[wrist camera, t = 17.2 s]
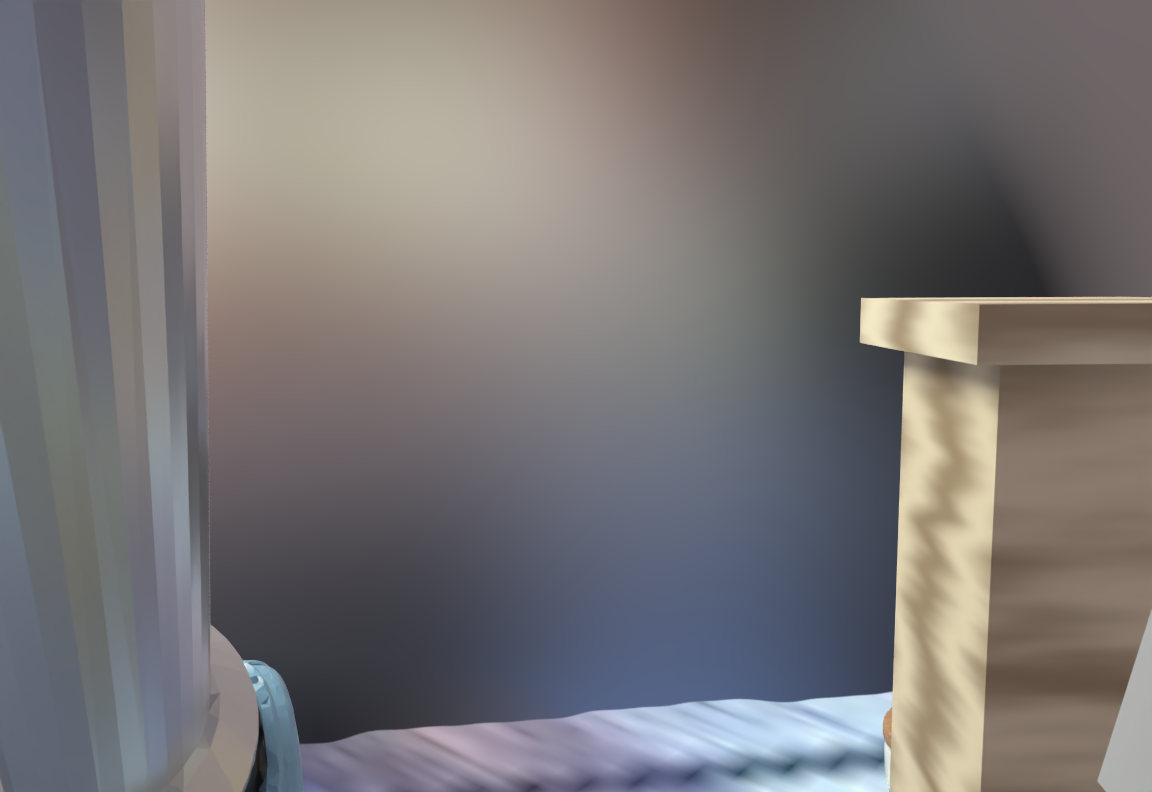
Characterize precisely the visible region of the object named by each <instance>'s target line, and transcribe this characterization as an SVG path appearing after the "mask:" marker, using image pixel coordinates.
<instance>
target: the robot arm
mask: <svg viewBox="0 0 1152 792" xmlns="http://www.w3.org/2000/svg"><path fill="white" fill-rule="evenodd" d="M205 73H206V72H205V0H0V792H303V779H302V765H301V755H300V747H299V741H298V733H297V728H296V723H295V718H294V711H293V707H292V703H291V700H290V697H289V693H288V690H287V688H286V685H285V683H284V682H283V680H282V678H281V676H280V675H279V674H278V672H277V671H275V670H274V669H272V668H271V667H269V666H267V665H266V664H265V663H264V662H261V661H255V660H247V661H244V660H242V659H241V657H240V656H239V654H238V653H237V651H236V650H235V649H234V648H233V646H232V645H231V644H230V642H229V641H228V640H227V639H226V638H225V637H224V636H223V635H222V634H221V633H220V632H218V631H217V630H216V629H215V628H214V627H213V626H211V625H210V558H209V557H210V555H209V554H210V550H209V549H210V547H209V432H208V430H209V429H208V313H207V312H208V309H207V195H206V194H207V190H206V75H205ZM1097 782H1098V783H1099V784H1100V785H1101V786H1102V788H1103V789H1104V790H1105V791H1106V792H1152V610H1151V613H1150V616H1149V619H1148V622H1147V626H1146V629H1145V632H1144V635H1143V638H1142V641H1141V644H1140V648H1139V651H1138V654H1137V657H1136V660H1135V663H1134V667H1133V670H1132V673H1131V676H1130V679H1129V682H1128V686H1127V689H1126V692H1125V695H1124V698H1123V701H1122V705H1121V708H1120V711H1119V714H1118V717H1117V720H1116V724H1115V727H1114V730H1113V733H1112V736H1111V739H1110V742H1109V746H1108V749H1107V752H1106V755H1105V758H1104V761H1103V765H1102V768H1101V771H1100V774H1099V777H1098V780H1097Z"/></svg>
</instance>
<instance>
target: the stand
mask: <svg viewBox="0 0 1152 792" xmlns="http://www.w3.org/2000/svg"><path fill="white" fill-rule="evenodd" d="M860 343H865V344H870V345H875V346H880V347H886V348H891V349H896V350H901V351H905V357H904V387H903V413H902V416H903V417H902V442H901V473H900V500H899V530H898V558H897V587H896V617H895V619H896V620H895V646H894V674H893V676H894V677H893V702H892V731H891V760H890V789H889V792H1106V791H1105V790H1104V789H1103V788H1102V786H1101V785H1100V784H1099V783H1098V782H1097V780H1098V777H1099V774H1100V771H1101V768H1102V765H1103V761H1104V758H1105V755H1106V752H1107V749H1108V746H1109V742H1110V739H1111V736H1112V733H1113V730H1114V727H1115V724H1116V720H1117V717H1118V714H1119V711H1120V708H1121V705H1122V701H1123V698H1124V695H1125V692H1126V689H1127V686H1128V682H1129V679H1130V676H1131V673H1132V670H1133V667H1134V663H1135V660H1136V657H1137V654H1138V651H1139V648H1140V644H1141V641H1142V638H1143V635H1144V632H1145V629H1146V626H1147V622H1148V619H1149V616H1150V613H1151V610H1152V298H1149V297H1006V298H1005V297H998V298H861V327H860Z"/></svg>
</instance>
